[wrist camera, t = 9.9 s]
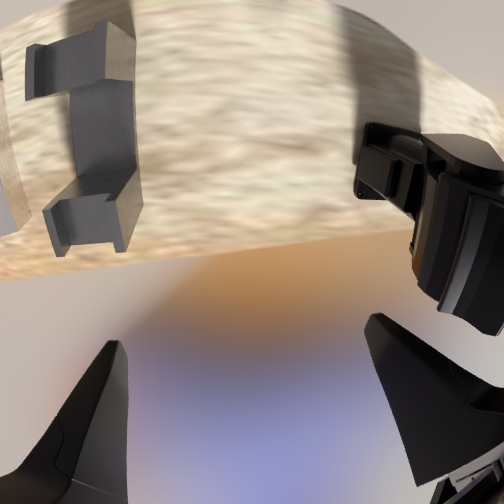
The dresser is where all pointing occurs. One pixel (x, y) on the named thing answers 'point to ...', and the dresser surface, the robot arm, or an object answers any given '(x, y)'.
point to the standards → (93, 135)
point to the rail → (10, 180)
